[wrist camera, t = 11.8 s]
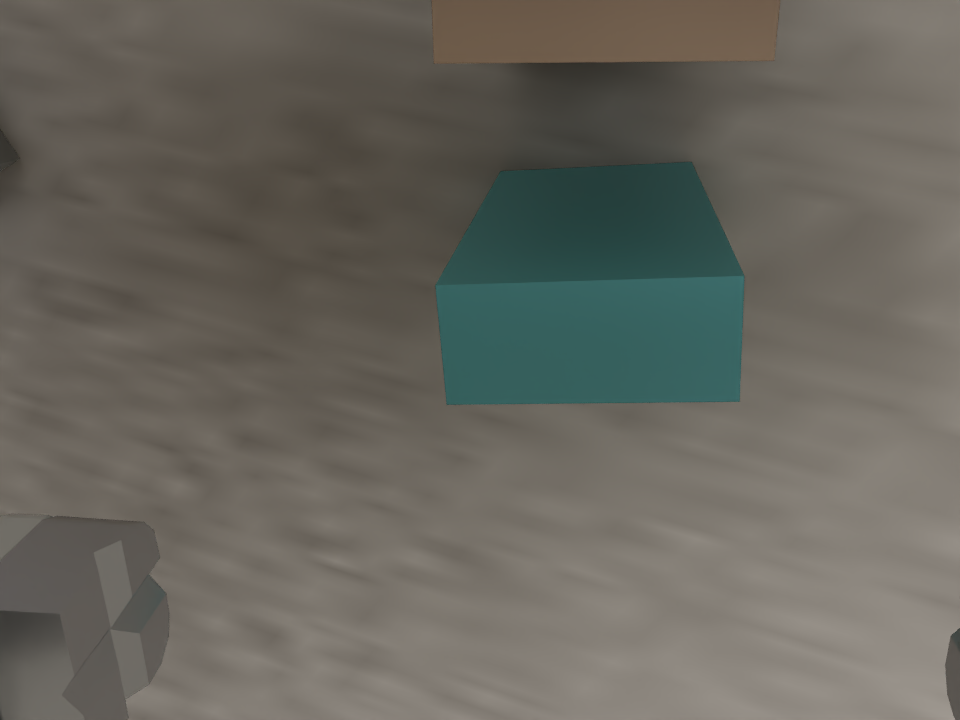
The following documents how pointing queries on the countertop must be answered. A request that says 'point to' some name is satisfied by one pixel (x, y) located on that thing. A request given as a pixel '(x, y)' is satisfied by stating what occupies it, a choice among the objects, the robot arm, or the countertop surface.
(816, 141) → the countertop surface
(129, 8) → the countertop surface
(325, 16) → the countertop surface
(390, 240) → the countertop surface
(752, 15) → the domino
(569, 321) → the domino
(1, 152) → the grey cube
